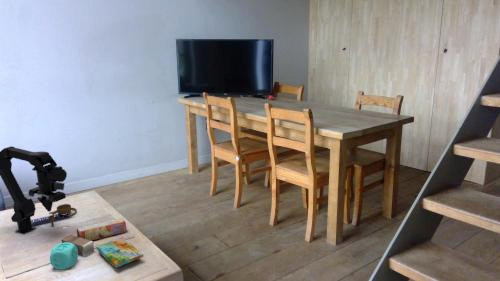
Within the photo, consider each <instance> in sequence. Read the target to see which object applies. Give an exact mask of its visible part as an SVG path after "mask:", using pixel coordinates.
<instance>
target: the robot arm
mask: <svg viewBox="0 0 500 281" xmlns="http://www.w3.org/2000/svg"><path fill="white" fill-rule="evenodd" d="M12 159H16V160H20V161H25V162H28V163H29V164H30V165H31V166H33V168H32V171H34V172H36V179H37V182H35V185H36V187H34V188H30V189H29V190H28V192H27V194H28V196H29V197H32V198H33V197H34V196H35V195H36V196H38V197H37V198H36V199H37V200H38V201H39V203H41V205H42V206H43V207H44V209H45V210H46V211H47V212H48V213H50V212H52V208H53V205H54V204H53V203H56V202H60V201H61V200H64V199H67V198H66V193H65V192H64V189H65V183H64V181H66V179H67V175H68V173H67V171H66V170H65V169H63V167H62V166H58V164H57V162H56V160H54V159H53V157H52V155H51V154H50V153H49V152H47V151H30V150H25V149H22V148H18V147H15V146H7V147H4V148H3V149H1V150H0V178H1V179H2V181H3V184H4V186H5V187H6V190H7V191H8V193H9V195H10V197H11V199H12V201H13V208H12V209H13V211H14V213H13V215H11V216H10V219H11V222H12V223H16V225H17V229H16V230H14V232H15V233H18V234H21V235H24V234H25V235H26V234H27V233H29V232H32V231H34V230H36V227H34V226H33V223H32V219H31V217H34V216H35V214H36V210H37V208H36V204H35V203H34V202H33V199H32V198H28V197H26V196H25V194H24V192H23V190H22V188H21V187H20V185H19V182H18V181H17V179H16V177H15V175H14V173H13V171H12V165H13V162H12V161H11V160H12ZM57 190H59V191H57Z"/></svg>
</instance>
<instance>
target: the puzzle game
mask: <svg viewBox="0 0 500 281" xmlns="http://www.w3.org/2000/svg"><path fill="white" fill-rule="evenodd" d="M95 247H96V248H95V249H96V250H97V251H98V253H100V254H101V255H102V256H103V257H104V258H105V259H106V260H107V261H108V262H109V263H110V265H112V266H113V267H114V268H118V267H121V266H123V265H125V264H128V263H131V262H133V261H137V260H139V259H141V258H144V254H143V253H142V252H141V251H140V250H139V249H137V248H136V247H135V246H134V245H132V244H131V243H130V242H129V241H128V240H126V239H125V237H123V236H122V237H119V238H117V239H114V240H111V241H108V242H105V243H102V244H100V245H99V244H98V245H96V246H95Z"/></svg>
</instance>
